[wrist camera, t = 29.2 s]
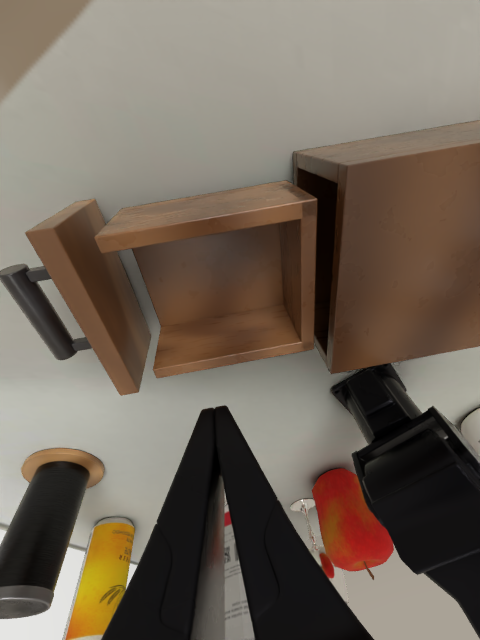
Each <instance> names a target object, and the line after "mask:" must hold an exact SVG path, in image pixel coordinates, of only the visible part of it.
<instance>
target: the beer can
mask: <svg viewBox="0 0 480 640" xmlns="http://www.w3.org/2000/svg"><path fill="white" fill-rule="evenodd" d="M134 533H135V528H134V527H133V525H132V522H131V521H130V520H128V519H125V518H119V517H114V518H107V519H103V520H101V521H99V522H98V523H97V525H96V526H95V527H94V528H93V529H92V530H91V534H90V537H89V541H88V545H87V549H86V552H85V557H84V560H83V564H82V568H81V571H80V576H79V579H78V583H77V587H76V590H75V594H74V598H73V602H72V605H71V609H70V613H69V617H68V620H67V624H66V628H65V632H64V635H63V639H62V640H101V638H102V636H103V634H104V632H105V630H106V628H107V626H108V624H109V622H110V621H111V619H112V617H113V615H114V613H115V611H116V609H117V607H118V605H119V603H120V601H121V599H122V597H123V595H124V593H125V590H126V584H127V577H128V571H129V565H130V559H131V552H132V546H133V540H134Z"/></svg>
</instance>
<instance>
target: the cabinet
mask: <svg viewBox="0 0 480 640" xmlns="http://www.w3.org/2000/svg"><path fill="white" fill-rule="evenodd" d="M293 175H294V185H295V186H297V187H298V188H300V189H302V190H303V191H305V192H307V193H308V194H310V195H312V196H314V197H315V198H317V236H316V274H315V313H314V343H315V345H316V347H317V349H318V351H319V353H320V355H321V356H322V358H323V360H324V362H325V364H326V366H327V368H328V370H329V372H330V373H331V374H334V373H340V372H345V371H350V370H356V369H361V368H366V367H372V366H377V365H382V364H387V363H393V362H398V361H403V360H409V359H414V358H419V357H425V356H430V355H435V354H441V353H446V352H451V351H457V350H462V349H467V348H473V347H478V346H480V120H478V121H472V122H466V123H460V124H454V125H448V126H442V127H436V128H430V129H424V130H418V131H413V132H407V133H401V134H395V135H389V136H383V137H377V138H371V139H365V140H359V141H353V142H347V143H341V144H335V145H329V146H323V147H318V148H312V149H306V150H300V151H294V152H293Z"/></svg>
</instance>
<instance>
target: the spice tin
mask: <svg viewBox="0 0 480 640" xmlns="http://www.w3.org/2000/svg"><path fill="white" fill-rule="evenodd" d="M89 477H90V473H89V471H88V470H87V469H86V468H85V467H84V466H82V465H80V464H77V463H73V462H68V461H53V462H48V463H45V464H42V465H41V466H39V467H38V468H37V469H36V471H35V473H34V475H33V477H32V480H31V482H30V484H29V486H28V488H27V490H26V492H25V494H24V496H23V499H22V501H21V503H20V505H19V507H18V509H17V511H16V513H15V515H14V517H13V520H12V522H11V524H10V526H9V528H8V530H7V532H6V534H5V536H4V539H3V541H2V543H1V545H0V619H12V618H21V617H28V616H32V615H37V614H40V613H42V612H45V611H46V610H48V609H49V608H50V606H51V603H52V600H53V597H54V590H55V586H56V583H57V580H58V577H59V573H60V570H61V567H62V564H63V561H64V557H65V554H66V551H67V548H68V545H69V541H70V538H71V535H72V532H73V529H74V525H75V522H76V519H77V516H78V513H79V509H80V506H81V503H82V500H83V497H84V493H85V490H86V487H87V484H88V481H89Z"/></svg>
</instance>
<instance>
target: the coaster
mask: <svg viewBox="0 0 480 640" xmlns="http://www.w3.org/2000/svg"><path fill="white" fill-rule="evenodd" d="M53 461H68V462H73V463H77V464H80V465H82V466H84V467H85V468H86V469H87V470H88V471H89V473H90V477H89V481H88V484H87V487H86V489H87V488H90V487H92V486H94V485H96V484H97V483H98V482H99V481H100V480H101V479H102V477H103V474H104V466H103V464H102V462H101V461H100V460H99V459H97V458H96V457H94V456H93V455H91V454H89V453H86V452H83V451H79V450H74V449H65V448H55V449H47V450H42V451H39V452H36V453H34V454H32V455H31V456H29V457H28V458H27V459H26V460H25V462H24V464H23V466H22V470H21V471H22V475H23V477H24V478H25V479H26V480H27V481H28V482H31V480H32V477H33V475H34V473H35V471H36V469H37V468H38V467H39V466H41V465H42V464H45V463H48V462H53Z"/></svg>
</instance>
